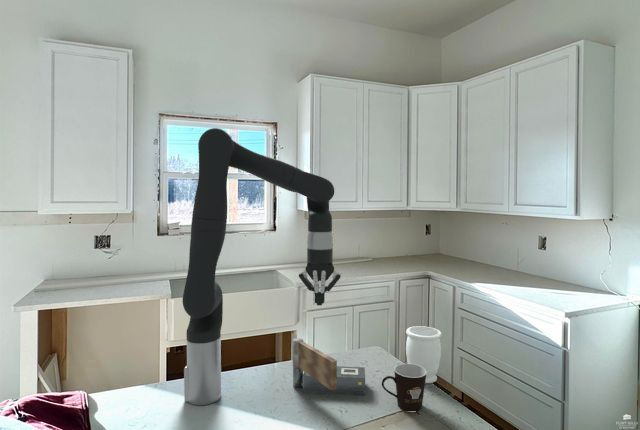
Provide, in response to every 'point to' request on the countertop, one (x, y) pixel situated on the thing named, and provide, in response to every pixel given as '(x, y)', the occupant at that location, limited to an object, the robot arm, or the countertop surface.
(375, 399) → the countertop surface
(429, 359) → the jar
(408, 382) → the coffee mug
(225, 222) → the robot arm
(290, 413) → the countertop surface
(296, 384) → the swing post
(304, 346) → the brown wooden board
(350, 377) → the case
